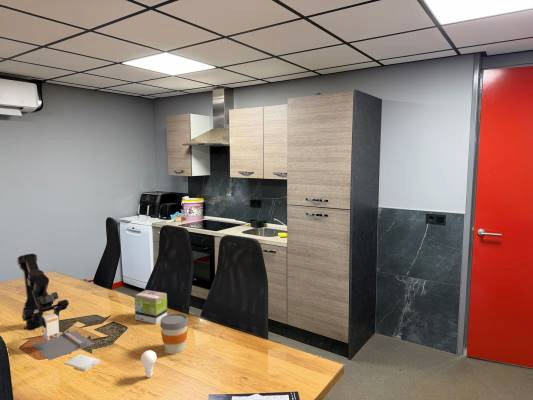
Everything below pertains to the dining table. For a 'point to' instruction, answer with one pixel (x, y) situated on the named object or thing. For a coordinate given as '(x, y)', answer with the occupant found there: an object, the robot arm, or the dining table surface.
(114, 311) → the dining table surface
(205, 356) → the dining table surface
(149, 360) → the lightbulb
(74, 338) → the rail
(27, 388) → the dining table surface
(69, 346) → the mounting plate
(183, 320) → the reusable coffee cup
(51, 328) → the block
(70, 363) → the hard drive
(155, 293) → the tea box
